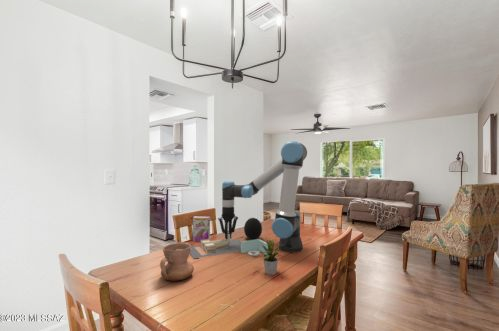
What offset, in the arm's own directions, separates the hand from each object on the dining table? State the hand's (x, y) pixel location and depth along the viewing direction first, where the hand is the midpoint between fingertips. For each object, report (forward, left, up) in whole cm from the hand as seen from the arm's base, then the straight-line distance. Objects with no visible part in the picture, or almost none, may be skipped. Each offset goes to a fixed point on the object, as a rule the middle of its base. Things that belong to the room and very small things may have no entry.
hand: (228, 243), depth 162 cm
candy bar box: (+20, +11, -2) cm, 23 cm away
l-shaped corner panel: (-20, -8, -3) cm, 22 cm away
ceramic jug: (-30, +37, -2) cm, 48 cm away
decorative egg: (+8, -22, -2) cm, 23 cm away
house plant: (-43, -4, -2) cm, 43 cm away
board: (0, +6, -2) cm, 7 cm away
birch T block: (0, +8, -2) cm, 8 cm away
